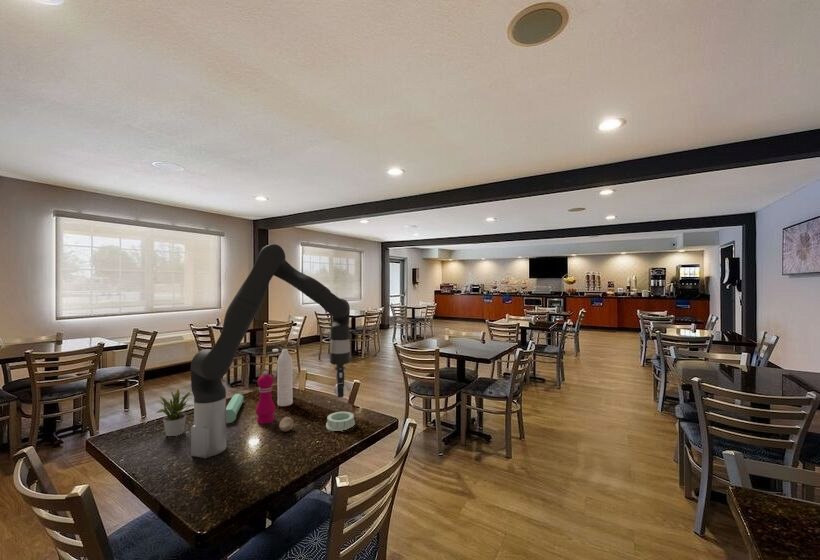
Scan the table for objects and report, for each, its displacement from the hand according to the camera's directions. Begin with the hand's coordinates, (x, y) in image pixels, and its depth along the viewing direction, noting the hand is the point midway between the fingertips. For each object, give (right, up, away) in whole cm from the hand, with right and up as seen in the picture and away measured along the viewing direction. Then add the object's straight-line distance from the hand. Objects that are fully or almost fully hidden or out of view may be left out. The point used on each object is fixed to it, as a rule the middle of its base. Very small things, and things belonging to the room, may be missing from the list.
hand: (340, 394), depth 136 cm
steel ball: (0, -1, 0) cm, 1 cm away
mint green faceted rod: (-49, -13, +15) cm, 52 cm away
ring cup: (0, -12, 0) cm, 12 cm away
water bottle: (-31, -12, +24) cm, 41 cm away
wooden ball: (-19, -12, -5) cm, 23 cm away
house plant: (-58, -12, -7) cm, 60 cm away
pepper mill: (-31, -12, +5) cm, 34 cm away
